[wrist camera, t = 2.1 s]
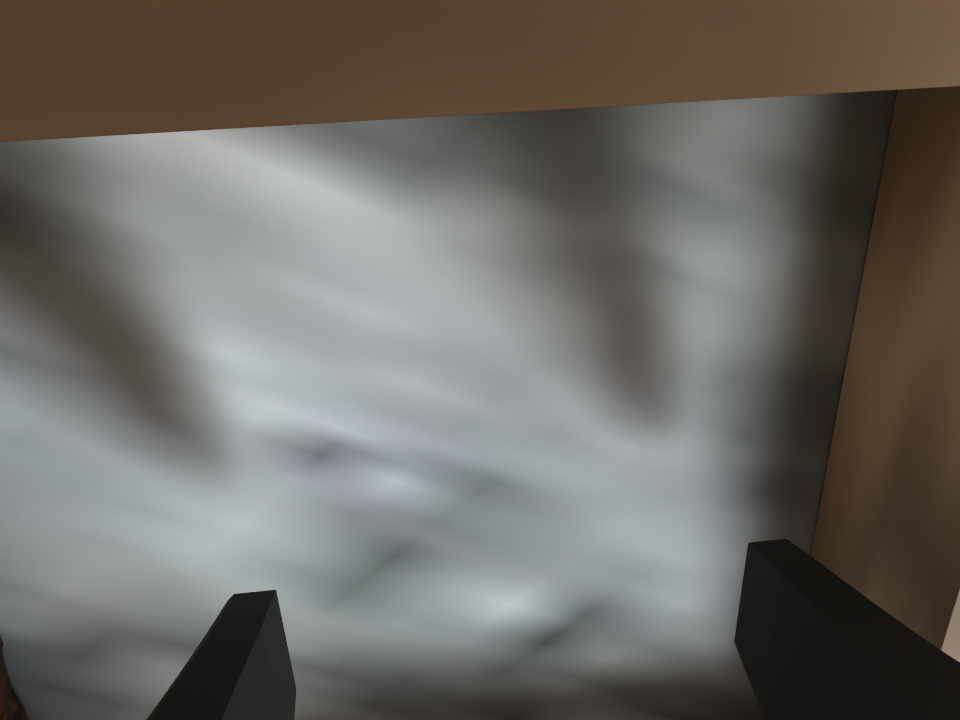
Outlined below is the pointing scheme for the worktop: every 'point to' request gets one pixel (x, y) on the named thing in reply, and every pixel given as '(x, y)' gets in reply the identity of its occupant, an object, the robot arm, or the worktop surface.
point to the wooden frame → (600, 83)
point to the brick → (8, 696)
